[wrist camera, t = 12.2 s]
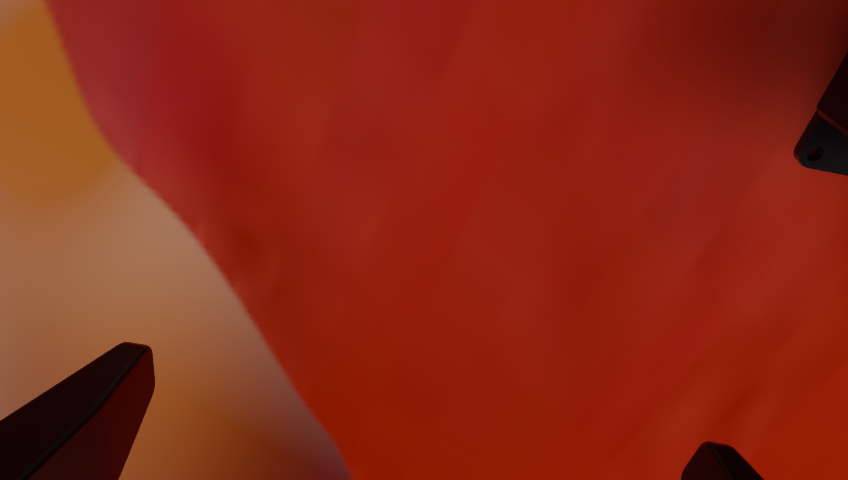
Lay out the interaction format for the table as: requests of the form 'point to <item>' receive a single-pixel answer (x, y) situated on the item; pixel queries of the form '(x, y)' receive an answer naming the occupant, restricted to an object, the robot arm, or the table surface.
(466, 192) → the table surface
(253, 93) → the table surface
